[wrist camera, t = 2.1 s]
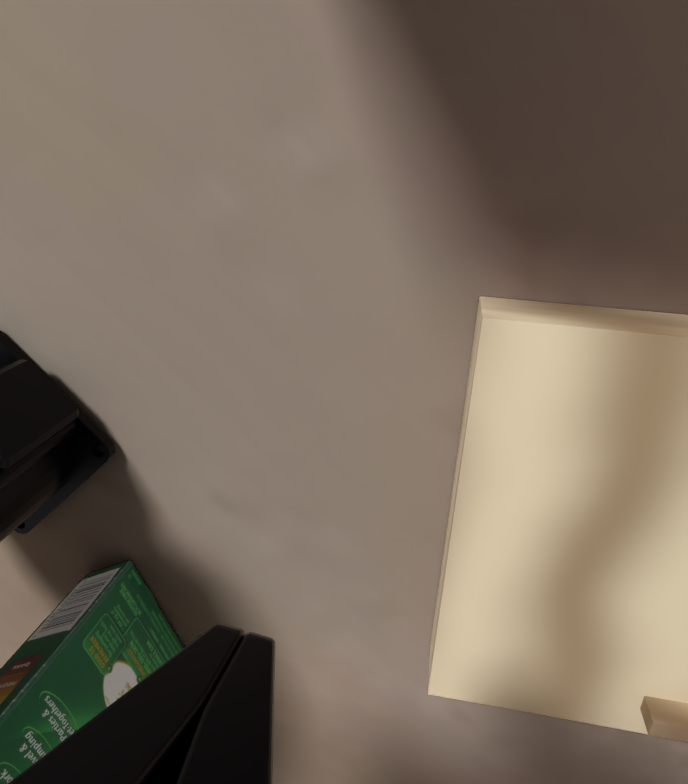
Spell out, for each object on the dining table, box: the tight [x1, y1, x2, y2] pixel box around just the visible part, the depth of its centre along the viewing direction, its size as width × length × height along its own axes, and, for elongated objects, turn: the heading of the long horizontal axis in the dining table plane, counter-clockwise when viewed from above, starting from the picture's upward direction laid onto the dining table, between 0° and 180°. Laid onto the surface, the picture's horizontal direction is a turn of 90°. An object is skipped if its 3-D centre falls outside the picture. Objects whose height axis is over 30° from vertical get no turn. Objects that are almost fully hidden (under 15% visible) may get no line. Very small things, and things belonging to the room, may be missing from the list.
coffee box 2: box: [0, 561, 184, 784], centre depth 21 cm, size 8×3×13 cm, turn 23°
